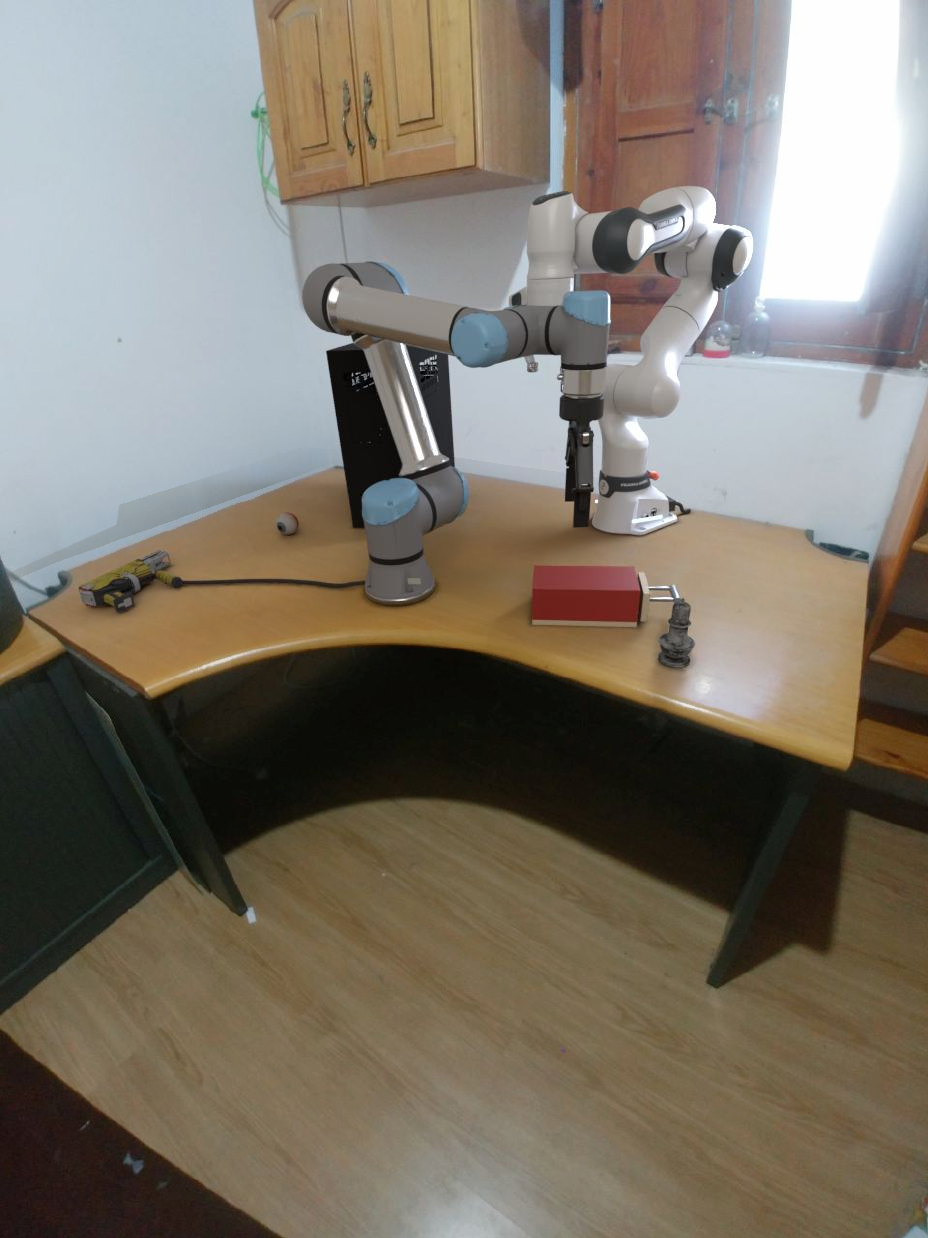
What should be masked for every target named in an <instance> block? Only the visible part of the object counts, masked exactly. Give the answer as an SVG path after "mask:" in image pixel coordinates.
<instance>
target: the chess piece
mask: <svg viewBox="0 0 928 1238" xmlns="http://www.w3.org/2000/svg"><path fill="white" fill-rule="evenodd" d="M691 611H692V607H691V604H690V603H689V602H686V599H685V598H684V597H682V598H681V601H679V602H676V603H674V602H673V605H672V609H671V616H670V618H668V620H667V622H668V625H669V626H668V630H667V632H665V633H663V634H661V635H660V636H659V637H658V643H659V647H660V649H661V651H660V653H658V655H657V656H658V657H657V658H658V660H659V662H660V663H661V664H663V665H664V666H667V667H669V668H684V667H687V666H689V665H690V663H691V658H690V656H689V655H690V653H691V652H692V650H693V649H695V646H696V641H695V640H694V639H693V638H692V637H691V636H689V634H688V633H689V627H690V626H691V625H692V621H691V620H690V617H691Z"/></svg>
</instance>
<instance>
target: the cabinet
mask: <svg viewBox="0 0 928 1238" xmlns="http://www.w3.org/2000/svg"><path fill="white" fill-rule="evenodd" d="M532 576H533V577H532V587H531V588H532V589H531V590H532V591H531V597H532V598H531V602H532V603H531V625H533V626H535V625H536V626H567V627H568V626H570V627H572V626H573V627H574V626H575V627H579V626H580V627H607V628H608V627H611V628H616V627H617V628H637V627H638V617H639V613H638V609H639V600H640V587H639V583H638V579H637V577H638V574H637V572H636V567H635V566H633V565H630V566H629V565H628V566H625V565H624V566H623V565H621V566H620V565H543V564H542V565H540V564H539V565H538V564H535V565H533V574H532Z"/></svg>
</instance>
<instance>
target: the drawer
mask: <svg viewBox="0 0 928 1238" xmlns="http://www.w3.org/2000/svg"><path fill="white" fill-rule="evenodd" d="M637 579H638V583H639V587H640V600H639V609H638V617H639V620H640V622H642V623H643V622H648V617H649V608H650V602H651V603H653V602H655V603H656V602H657V603H659V602H660V603H673V604H674V603H676V602H679V601H681V599H682V598H681V594H680V593H679V590H678V587H677V585H676V584H670V585H669V586H651V585H648V581H647V577H646V574H645V571H637ZM650 591H658V592H659V591H663V592H665V591H666V592H668V591H669V594H670V596H671V597H652V596H651V592H650Z"/></svg>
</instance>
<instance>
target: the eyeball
mask: <svg viewBox="0 0 928 1238" xmlns="http://www.w3.org/2000/svg"><path fill="white" fill-rule="evenodd" d="M299 525H300V522H299V519H298V517H297V516H296V515H295V514H294V513H292V512H287V511H286V512H282V513H280V514H279V515H278V516H277V517H276V520H275V527H276V529H277V530H278V531H279V532H280V533H281V534H282V535H285V536H286V535H287V536H289V535H293V534H295V533H296V532H297V531H298V529H299Z"/></svg>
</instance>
